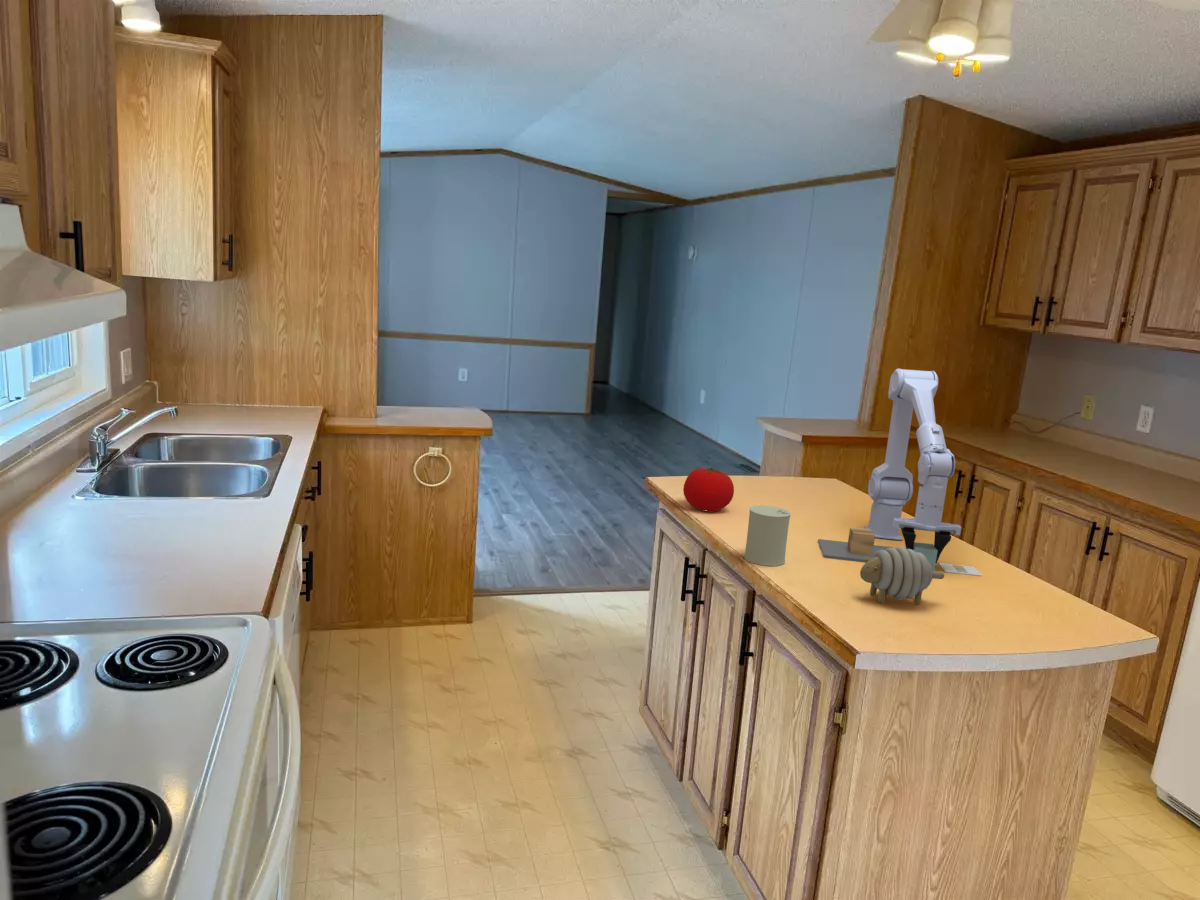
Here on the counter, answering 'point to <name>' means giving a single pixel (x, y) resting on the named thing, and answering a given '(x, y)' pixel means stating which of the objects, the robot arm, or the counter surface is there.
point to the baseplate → (844, 551)
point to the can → (767, 535)
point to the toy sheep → (898, 574)
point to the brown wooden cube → (861, 541)
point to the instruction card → (960, 569)
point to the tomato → (708, 489)
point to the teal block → (927, 552)
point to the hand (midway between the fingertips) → (921, 560)
